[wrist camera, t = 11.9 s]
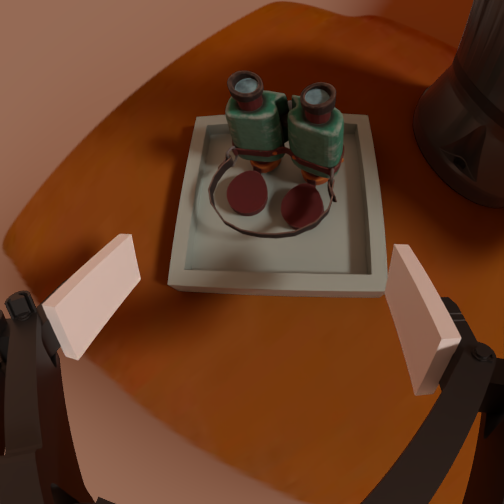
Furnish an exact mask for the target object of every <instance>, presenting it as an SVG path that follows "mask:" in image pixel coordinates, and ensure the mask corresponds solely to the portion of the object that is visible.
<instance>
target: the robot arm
mask: <svg viewBox="0 0 504 504" xmlns="http://www.w3.org/2000/svg"><path fill="white" fill-rule="evenodd" d="M413 129H414V134H415V137H416V140H417V143H418V145H419V148H420V150H421V152H422V153H423V155H424V157H425V158H426V160H427V161H428V163H429V164H430V166H431V167H432V168H433V169H434V171H435V172H436V173H437V174H438V175H439V176H440V177H441V178H442V179H443V180H444V181H445V182H446V183H447V184H448V185H449V186H450V187H451V188H453V189H454V190H455V191H456V192H458V193H459V194H461V195H462V196H464V197H465V198H467V199H469V200H471V201H473V202H475V203H477V204H480V205H483V206H487V207H493V208H500V207H504V0H474V2H473V5H472V8H471V11H470V15H469V18H468V21H467V24H466V27H465V30H464V33H463V36H462V39H461V42H460V44H459V47H458V50H457V53H456V55H455V58H454V61H453V63H452V65H451V66H450V67H449V68H448V69H447V70H446V71H445V72H444V73H443V74H442V75H441V76H440V77H439V78H438V79H437V80H436V81H435V82H434V84H432V85H431V86H430V87H428V88H427V89H426V90H425V91H424V92H423V94H422V95H421V97H420V99H419V102H418V105H417V107H416V110H415V112H414V116H413ZM140 280H141V278H140V274H139V269H138V264H137V260H136V255H135V250H134V245H133V240H132V235H131V234H119V235H118V236H116V237H115V238H114V239H113V240H112V241H111V242H109V243H108V244H107V245H106V246H105V247H104V248H102V249H101V250H100V251H99V252H98V253H97V254H96V255H94V256H93V257H92V258H91V259H90V260H89V261H88V262H87V263H85V264H84V265H83V266H82V267H81V268H80V269H79V270H78V271H77V272H75V273H74V274H73V275H72V276H71V277H70V278H69V279H67V280H65V281H64V282H63V283H62V284H61V285H59V286H58V287H57V289H55V290H54V291H53V292H52V294H50V295H49V296H48V297H47V298H46V299H45V300H44V301H43V302H42V303H41V304H40V305H39V306H38V307H37V308H36V306H35V304H34V302H33V299H32V297H31V294H30V292H28V291H19V292H16V293H14V294H13V295H11V296H10V297H9V298H8V299H7V300H6V301H5V305H6V308H7V310H8V312H9V314H10V316H11V319H5V317H4V314H3V312H2V311H1V310H0V504H115V503H112V502H110V501H107V500H105V499H103V498H100V497H98V499H97V501H96V503H95V502H94V500H93V499H92V497H91V496H90V494H89V493H88V491H87V490H86V488H85V485H84V483H83V479H82V476H81V472H80V469H79V465H78V461H77V457H76V453H75V449H74V445H73V441H72V436H71V431H70V426H69V421H68V416H67V410H66V405H65V398H64V392H63V385H62V377H61V368H60V358H59V356H58V353H57V350H58V349H59V348H60V346H61V348H62V350H63V352H64V354H65V356H66V357H69V358H72V359H75V360H79V359H80V358H81V356H82V355H83V354H84V352H85V351H86V349H87V348H88V347H89V345H90V344H91V343H92V341H93V340H94V339H95V337H96V336H97V335H98V333H99V332H100V331H101V329H102V328H103V327H104V325H105V324H106V323H107V321H108V320H109V319H110V318H111V316H112V315H113V314H114V312H115V311H116V310H117V309H118V307H119V306H120V305H121V303H122V302H123V301H124V300H125V298H126V297H127V296H128V295H129V293H130V292H131V291H132V290H133V288H134V287H135V286H136V285H137V283H138V282H139V281H140ZM384 293H385V296H386V299H387V302H388V305H389V308H390V311H391V314H392V317H393V320H394V323H395V326H396V330H397V333H398V336H399V339H400V343H401V346H402V349H403V353H404V356H405V360H406V363H407V367H408V370H409V374H410V378H411V382H412V386H413V390H414V394H415V395H426V394H433V393H434V391H435V390H436V388H437V386H438V384H440V387H441V390H442V392H441V394H440V396H439V397H438V399H437V401H436V402H435V404H434V406H433V407H432V409H431V411H430V412H429V414H428V416H427V417H426V419H425V420H424V422H423V423H422V425H421V427H420V428H419V430H418V431H417V433H416V434H415V436H414V437H413V438H412V440H411V441H410V443H409V444H408V446H407V447H406V448H405V450H404V451H403V452H402V454H401V455H400V456H399V458H398V459H397V460H396V462H395V463H394V464H393V466H392V467H391V468H390V470H389V471H388V472H387V473H386V475H385V476H384V477H383V478H382V479H381V481H380V482H379V483H378V484H377V485H376V487H375V488H374V489H373V490H372V491H371V492H370V493H369V495H368V496H367V497H366V498H365V499H364V500H363V501H362V502H361V503H360V504H428V503H429V502H430V500H431V499H432V497H433V496H434V494H435V492H436V491H437V489H438V488H439V486H440V485H441V483H442V481H443V480H444V478H445V476H446V475H447V473H448V471H449V469H450V468H451V466H452V464H453V462H454V460H455V458H456V457H457V455H458V453H459V451H460V449H461V447H462V445H463V443H464V441H465V439H466V437H467V435H468V433H469V431H470V428H471V426H472V424H473V422H474V420H475V417H476V415H477V413H478V412H482V414H481V421H480V428H479V434H478V440H477V445H476V451H475V456H474V460H473V465H472V469H471V473H470V477H469V481H468V485H467V489H466V492H465V496H464V499H463V502H462V504H504V359H500V358H496V355H495V353H494V351H493V350H492V349H491V348H490V347H489V346H487V345H486V344H483V343H480V342H477V340H476V338H475V336H474V335H473V333H472V331H471V329H470V327H469V325H468V324H467V322H466V321H465V318H464V316H463V315H462V314H461V311H460V309H459V308H458V306H457V304H455V303H454V302H453V301H452V300H451V299H450V298H449V297H440V296H439V294H438V293H437V291H436V289H435V287H434V286H433V284H432V282H431V280H430V279H429V277H428V275H427V274H426V272H425V270H424V269H423V267H422V265H421V264H420V262H419V261H418V259H417V257H416V256H415V254H414V253H413V251H412V249H411V248H410V246H409V245H403V244H394V247H393V253H392V258H391V263H390V268H389V273H388V278H387V283H386V288H385V292H384ZM5 449H6V452H5ZM4 452H5V455H4Z"/></svg>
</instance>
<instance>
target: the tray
mask: <svg viewBox="0 0 504 504" xmlns="http://www.w3.org/2000/svg"><path fill="white" fill-rule="evenodd" d="M342 115H343V119H344V135H343V145H344V156H343V159H344V162H342V163H341V166H340V168H339V171H338V173H337V175H336V176H334V178H333V179H334V180H335V182H334V188H333V191H334V194H335V196H336V199H337V202H333V201H332V204H331V207H330V210H329V213H328V215H327V216H326V217H325V218H324V219H323V220H322V221H321V222H320V224H319V225H318V226H317V227H315V228H314V229H312V230H309V231H306V232H304V233H301V234H299V235H297V236H294V237H285V238H277V239H274V238H259V237H254V236H249V235H245V234H242V233H240V232H238V231H236V230H234V229H232V228H231V227H229V226H227V225H225V224H224V222H223V221H222V220H221V218H220V217H219V215H218V214H217V213H216V211H215V210H214V208H213V207H212V205H211V204H210V200H209V193H208V188H209V185H210V183H211V180H212V177H213V176H214V174H215V173H216V171H217V170H218V166H219V165H220V164H221V163H222V162H223V160H224V158H225V153H226V151H227V150H228V149H229V148H230V147H231V146H233V145H232V136H231V133H230V130H229V127H228V123H227V120H226V115H214V116H202V117H196V122H195V126H194V131H193V135H192V140H191V145H190V150H189V154H188V159H187V165H186V170H185V175H184V180H183V186H182V191H181V197H180V203H179V209H178V215H177V221H176V227H175V234H174V240H173V247H172V254H171V261H170V269H169V276H168V285H169V286H171V287H173V288H174V289H176V290H178V291H186V292H203V293H221V294H243V295H268V296H301V297H381V296H382V295H384V294H385V293H384V292H385V288H386V283H387V278H388V275H387V256H386V242H385V229H384V219H383V209H382V200H381V192H380V184H379V177H378V170H377V163H376V157H375V151H374V145H373V139H372V134H371V128H370V123H369V118H368V115H358V114H342ZM284 145H285V147H287V148H289V149H290V147H289V141H287V142H286V143H284ZM229 154H230V155H231V157H232V159H233V161H234V159H235V155H234V154H233V152H232V150H231V151H230V152H229ZM249 170H252V171H253V167H252V165H251V163H250V160H245V159H242V158H240V157H239V155H238V159H237V161H236V163H235V165H234V167H230V168H229V169H228V170H227V171H226V172H225V173H224V174H223V176H222V177H221V179H220V180H219V181H218V183H217V186H216V188H215V191H214V194H213V196H214V202H215V207H216V209H217V210H218V212H219V213H220V215H221V216H222V218H223V219H224V220H225V221H227V222H229V223H231V224H233V225H234V226H236V227H238V228H240V229H244V230H249V231H254V232H262V233H280V232H288V231H295V229H293V228H292V227H290V226H289V225H288V224H287V222H286V221H285V220H284V218H283V216H282V214H281V202H282V200H283V198H284V196H285V195H286V194H287V193H288V192H289V191H290V190H291V189H292V188H293V187H295V186H297V185H299V184H303V183H307V182H306V181H305V180H304V178H303V176H302V173H301V169H300V168H298V167H297V166H296V165H295V164H294V163H293V161H292V159H291V156H290V155H288V154H286V153H285V155H284V157H282V158H281V162H280V164H279V165H278V166H277V167H276V168H275V169H273V170H272V171H270V172H267V173H261V175H262V176H263V178H264V180H265V182H266V185H267V190H268V200H267V204H266V206H265V208H264V209H263V210H262V211H261V212H260V213H258V214H256V215H253V216H242V215H239V214H237V213H236V212H235V211H234V210H233V209H232V208H231V206H230V204H229V202H228V200H227V188H228V186H229V184H230V182H231V181H232V180H233V179H234V178H235V177H236V176H237V175H239V174H240V173H243V172H245V171H249ZM327 184H328V182H326V183H324V184H321V185H316V189H317V190H318V192H319V194H320V196H321V198H322V201H323V205H324V211H325V210H326V209H327V208H328V206H329V203H330V197H329V193H328V188H327Z"/></svg>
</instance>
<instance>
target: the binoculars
mask: <svg viewBox="0 0 504 504" xmlns="http://www.w3.org/2000/svg"><path fill="white" fill-rule="evenodd" d="M227 85H228V88H229V91H230V93H231V97H230V99H229V101H228V103H227V105H226V109H225V115H226V120H227V123H228V127H229V130H230V133H231V136H232V145H233V146H231V147H230V148H229V149H228V150H227V151H226V153H225V158H224V160H223V162H222V163H221V164H220V165H219V166H218V170H217V171H216V173H215V174H214V176H213V177H212V180H211V183H210V185H209V188H208V193H209V200H210V204H211V205H212V207H213V208H214V210H215V211H216V213H217V214H218V215H219V217H220V218H221V220H222V221H223V222H224V224H225V225H227V226H229V227H231V228H232V229H234V230H236V231H238V232H240V233H242V234H245V235H249V236H254V237H259V238H274V239H277V238H285V237H294V236H297V235H299V234H301V233H304V232H306V231H309V230H312V229H314V228H315V227H317V226H318V225H319V224H320V222H321V221H322V220H323V219H324V218H325V217H326V216H327V215H328V213H329V210H330V207H331V204H332V201H333V202H337V199H336V196H335V194H334V191H333V188H334V182H335V180H334V179H333V178H334V176H336V175H337V173H338V171H339V168H340V166H341V163H342V162H344V159H343V156H344V145H343V135H344V119H343V115H342V113H341V112H340V111H339V110H338V109H337V108H335V101H336V89H335V88H334V87H333V86H332V85H331V84H329V83H325V82H318V83H313V84H311V85H309V86H307V87H306V88H305V89H304V90H303V91H302V92H301V95H300V96H296V95H292V101H291V100H289V101H287V97H286V95H285V94H284V93H278V92H272V91H264V87H263V82H262V79H261V78H260V77H259V76H258V75H257V74H255V73H253V72H250V71H238V72H235V73H233V74H232V75H231V76H230V77H229V78H228V81H227ZM287 141H289V147H290V149H289V148H287V147H285V145H284V143H286V142H287ZM231 150H232V152H233V154H234V155H235V159H234V161H233V159H232V157H231V155H230V154H229V152H230V151H231ZM285 153H286V154H288V155H290V156H291V159H292V161H293V163H294V164H295V165H296V166H297V167H298V168H300V169H301V173H302V176H303V178H304V180H305V181H306V182H307V183H303V184H299V185H297V186H295V187H293V188H292V189H291V190H290V191H289V192H288V193H287V194H286V195H285V196H284V198H283V200H282V202H281V214H282V216H283V218H284V220H285V221H286V222H287V224H288V225H289V226H290V227H292V228H293V229H295V231H288V232H280V233H262V232H254V231H249V230H244V229H240V228H238V227H236V226H234V225H233V224H231V223H229V222H227V221H225V220H224V219H223V218H222V216H221V215H220V213H219V212H218V210H217V209H216V207H215V202H214V196H213V194H214V191H215V188H216V186H217V183H218V181H219V180H220V179H221V177H222V176H223V174H224V173H225V172H226V171H227V170H228V169H229V168H230V167H234V165H235V163H236V161H237V159H238V155H239V157H240V158H242V159H245V160H250V163H251V165H252V167H253V171H252V170H249V171H245V172H243V173H240V174H239V175H237V176H236V177H235V178H234V179H233V180H232V181H231V182H230V184H229V186H228V188H227V200H228V202H229V204H230V206H231V208H232V209H233V210H234V211H235V212H236V213H237V214H239V215H242V216H253V215H256V214H258V213H260V212H261V211H262V210H263V209H264V208H265V206H266V204H267V200H268V190H267V185H266V182H265V180H264V178H263V176H262V175H261V173H267V172H270V171H272V170H273V169H275V168H276V167H277V166H278V165H279V164H280V162H281V158H282V157H284V155H285ZM326 182H328V184H327V188H328V193H329V197H330V203H329V206H328V208H327V209H326V210H325V211H324V205H323V201H322V198H321V196H320V194H319V192H318V190H317V189H316V185H321V184H324V183H326Z"/></svg>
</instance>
